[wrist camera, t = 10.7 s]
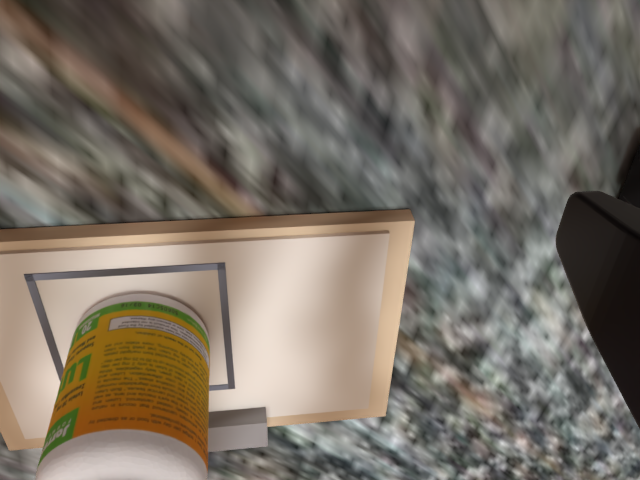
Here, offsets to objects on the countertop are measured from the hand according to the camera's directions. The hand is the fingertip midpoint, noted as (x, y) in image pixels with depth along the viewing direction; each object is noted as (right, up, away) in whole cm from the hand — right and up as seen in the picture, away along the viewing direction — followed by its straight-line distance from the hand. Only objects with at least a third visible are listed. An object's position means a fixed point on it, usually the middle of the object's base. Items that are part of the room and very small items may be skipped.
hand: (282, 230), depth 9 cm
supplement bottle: (-7, -4, +16) cm, 18 cm away
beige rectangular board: (-5, -4, +17) cm, 19 cm away
